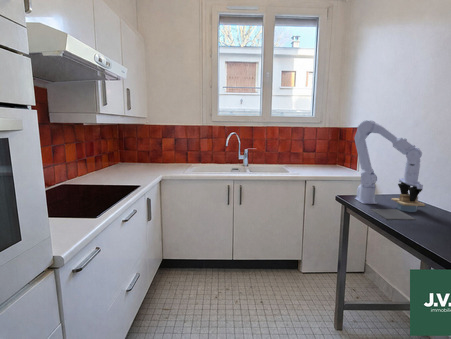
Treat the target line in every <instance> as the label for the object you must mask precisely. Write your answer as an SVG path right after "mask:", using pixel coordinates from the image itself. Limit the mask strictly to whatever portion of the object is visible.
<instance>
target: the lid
mask: <svg viewBox="0 0 451 339" xmlns="http://www.w3.org/2000/svg"><path fill="white" fill-rule="evenodd" d="M409 198H410V193H409V194H401V193H400V194H399V197H397V198H396V197H392V198H391V200H392V201H393V202H396V204H397V203H399V204H402V205H404V206H417V207H425V206H426V204H425V203H423V202H421V201H419V200H418V201H417V198H416V200H415V202H414V201H410V199H409Z"/></svg>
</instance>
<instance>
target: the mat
mask: <svg viewBox="0 0 451 339" xmlns="http://www.w3.org/2000/svg"><path fill="white" fill-rule="evenodd" d="M370 211H372V212H374V213H375V214H377V215H378V216H380V217H382V218H383V219H385V220H392V221H393V220H394V221H395V220H398V221H400V220H401V221H402V220H405V221H407V220H408V221H409V220H411V221H416V220H417V219H416V218H415V217H412V216H410V215H409V214H407V213H405V212H404V211H402V210H399V209H397V208H396V209H395V208H394V209H393V208H392V209H391V208H390V209H388V208H385V209H384V208H383V209H382V208H377V209H376V208H371V210H370Z"/></svg>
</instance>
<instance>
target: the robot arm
mask: <svg viewBox="0 0 451 339" xmlns="http://www.w3.org/2000/svg"><path fill="white" fill-rule="evenodd" d="M370 134H379V135H380V136H381V137H383V138H385V139H386V140H387V141H389V142H391V143H392V148H394V149H395V150H396V151H398V152H400V153H401V154H402V155H405V157H406V162H405V168H404V175H403V178H400V177H399V178H398V183H397V186H398V187H399V190H400V194H408V193H409V194H410V198H409V199H410V201H414V202H415V200H416V198H417V196H418V197H419V194H420V193H421V192H422V191H423V189H424V188H423V187H424V185H423V184H421V183H420V181H418V180H419V174H420V169H421V159H422V155H423V152H422V150H421V149H420V148H418V147H417V146H416V145H415V144H412V143H410V142H409V141H408V139H407V138H403V137H397V136H396V135H395V134H393V133H392V132H391V131H389V130H388V129H386V127H384V126H382V124H379V123H376V121H374V120H362V121H361V122H360V124H358V125H357V130H356V132H355V135H354V137H353V138H354V142H355V143H354V144H355V147H356V152H357V156H358V160H359V165H360V168H361V170H360V184H359V185H358V187H357V189H356V197H354V200H356V201H358V202H360V203H361V204H364V205H365V204H367V205H368V204H371V205H373V204H375V205H378V202H377V201H375V196H376V195H375V194H376V189H377V188H376V187H377V185H376V183H377V182H378V176H377V175H376V173H375V172H374V169H373V166H372V163H371V160H370V155H369V149H368V146H367V141H366V139H367V138H369V137H368V136H369V135H370Z"/></svg>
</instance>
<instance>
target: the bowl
mask: <svg viewBox="0 0 451 339" xmlns="http://www.w3.org/2000/svg"><path fill="white" fill-rule="evenodd" d="M396 209H398V210H400V211H402V212H406V213H416V212H418V206H404V205H402V204H399V203H397V202H396Z"/></svg>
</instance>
